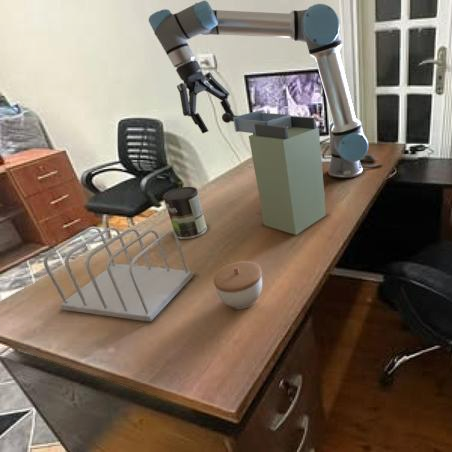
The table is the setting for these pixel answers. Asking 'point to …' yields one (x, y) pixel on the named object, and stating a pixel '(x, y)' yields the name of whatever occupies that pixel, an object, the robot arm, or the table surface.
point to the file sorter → (124, 281)
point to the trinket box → (239, 284)
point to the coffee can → (185, 212)
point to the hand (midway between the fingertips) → (219, 124)
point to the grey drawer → (257, 120)
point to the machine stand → (289, 174)
